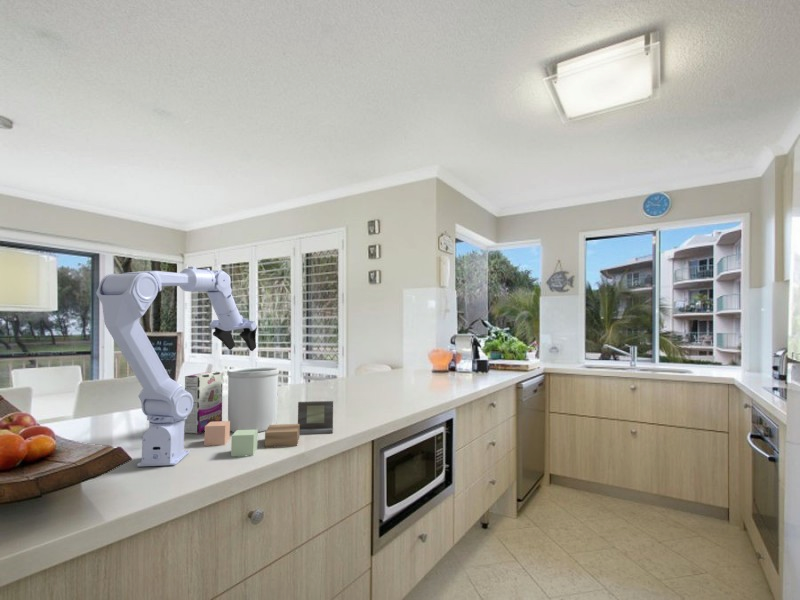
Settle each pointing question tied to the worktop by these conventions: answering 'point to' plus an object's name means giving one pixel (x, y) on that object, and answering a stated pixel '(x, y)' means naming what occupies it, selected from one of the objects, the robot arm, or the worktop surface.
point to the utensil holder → (252, 398)
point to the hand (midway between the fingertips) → (242, 348)
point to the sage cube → (244, 442)
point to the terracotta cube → (217, 433)
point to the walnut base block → (282, 435)
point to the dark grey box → (315, 417)
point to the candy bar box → (204, 400)
